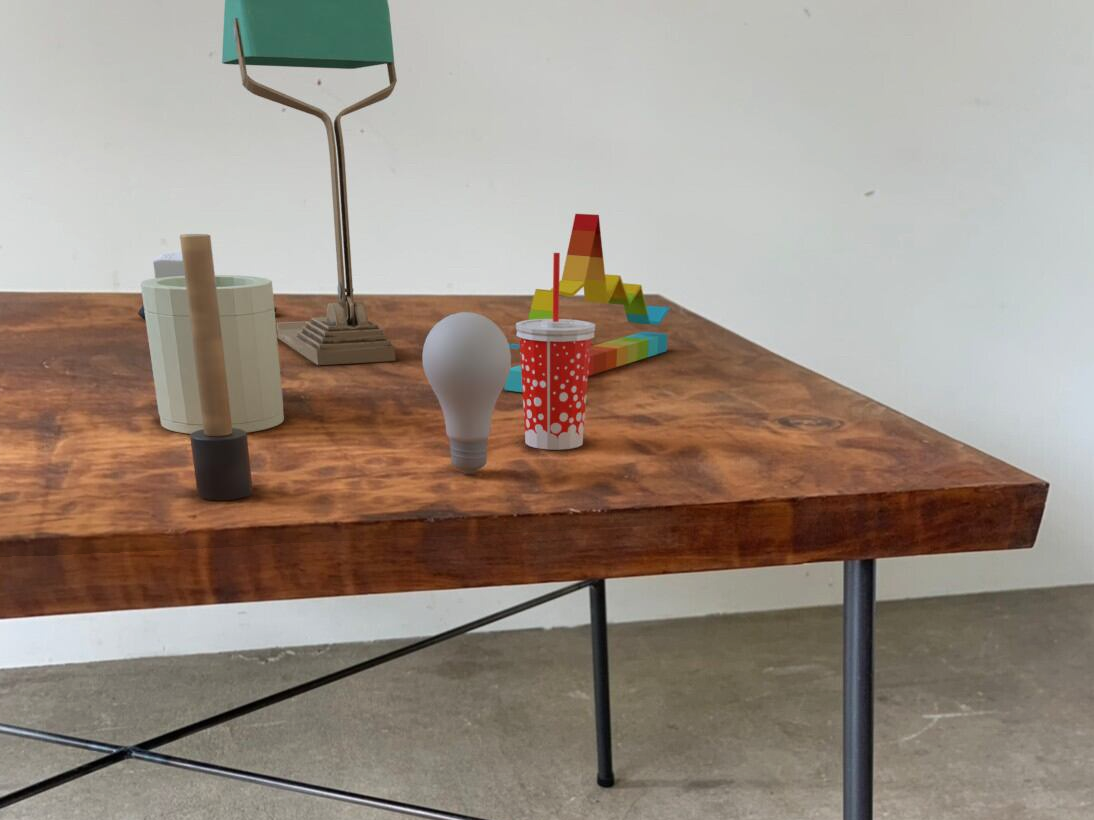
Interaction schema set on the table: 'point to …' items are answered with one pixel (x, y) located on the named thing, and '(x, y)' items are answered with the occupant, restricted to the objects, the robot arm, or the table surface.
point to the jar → (243, 346)
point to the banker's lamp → (326, 42)
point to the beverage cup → (554, 376)
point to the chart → (601, 288)
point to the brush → (212, 384)
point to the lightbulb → (467, 381)
